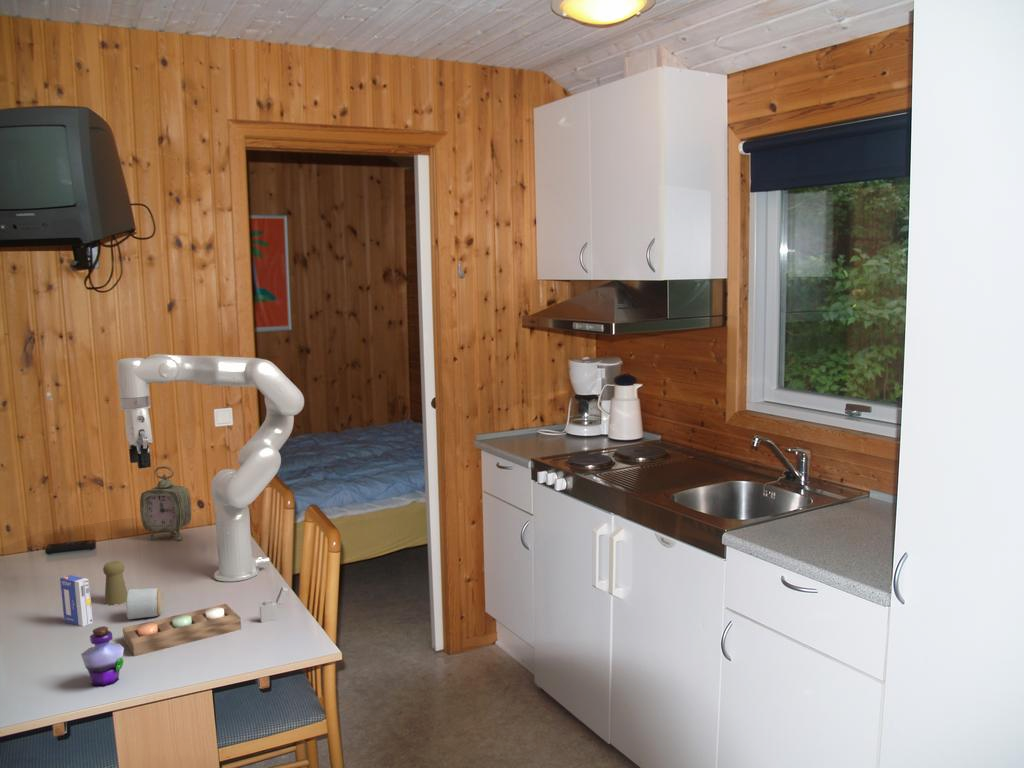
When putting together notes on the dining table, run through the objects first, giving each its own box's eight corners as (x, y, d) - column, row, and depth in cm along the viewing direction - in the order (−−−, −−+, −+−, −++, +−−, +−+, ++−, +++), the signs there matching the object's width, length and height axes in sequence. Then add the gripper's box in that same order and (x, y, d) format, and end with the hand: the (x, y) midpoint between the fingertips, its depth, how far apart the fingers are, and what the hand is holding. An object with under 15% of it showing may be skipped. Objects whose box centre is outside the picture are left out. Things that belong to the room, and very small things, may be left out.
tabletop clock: (142, 541, 298) (136, 469, 295) (157, 533, 307) (152, 463, 304) (182, 542, 296) (176, 469, 293) (196, 534, 305) (190, 463, 302)
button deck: (226, 614, 229) (225, 603, 229) (241, 629, 219) (240, 617, 219) (123, 639, 215) (122, 627, 215) (134, 656, 205) (133, 643, 205)
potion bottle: (124, 686, 190) (119, 633, 188) (80, 693, 187) (74, 639, 186) (129, 669, 198) (124, 618, 197) (87, 676, 196) (82, 624, 194)
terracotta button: (155, 631, 216) (154, 621, 215) (160, 636, 212) (159, 627, 212) (136, 635, 213) (135, 626, 213) (140, 641, 210) (139, 632, 209)
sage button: (189, 623, 220) (188, 613, 220) (194, 628, 217) (193, 619, 216) (171, 627, 218) (170, 618, 217) (175, 633, 214) (174, 623, 214)
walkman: (64, 621, 228) (59, 576, 227) (74, 617, 231) (69, 573, 229) (83, 626, 224) (78, 581, 223) (93, 622, 227) (88, 577, 225)
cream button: (221, 615, 225) (221, 606, 224) (226, 620, 221) (226, 611, 221) (204, 619, 222) (203, 610, 222) (209, 624, 219) (208, 615, 218)
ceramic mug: (161, 619, 228) (158, 590, 227) (126, 623, 225) (124, 594, 225) (165, 606, 238) (163, 578, 237) (132, 610, 236) (130, 582, 235)
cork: (119, 605, 239) (115, 566, 237) (99, 604, 240) (96, 565, 238) (133, 597, 244) (129, 559, 243) (113, 596, 246) (110, 558, 244)
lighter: (261, 622, 223) (259, 592, 222) (260, 620, 225) (258, 590, 224) (289, 617, 226) (287, 587, 225) (288, 615, 228) (286, 585, 227)
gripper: (157, 404, 236) (162, 467, 238) (142, 398, 250) (147, 458, 252) (127, 408, 231) (132, 472, 233) (114, 401, 246) (119, 462, 248)
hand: (140, 464), depth 243 cm, fingers open, 9 cm apart
